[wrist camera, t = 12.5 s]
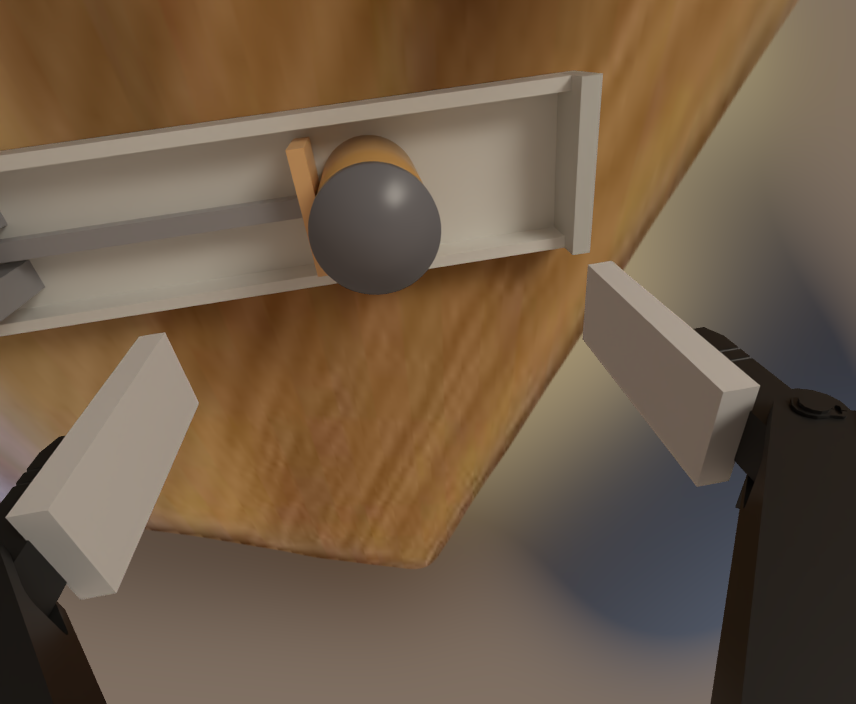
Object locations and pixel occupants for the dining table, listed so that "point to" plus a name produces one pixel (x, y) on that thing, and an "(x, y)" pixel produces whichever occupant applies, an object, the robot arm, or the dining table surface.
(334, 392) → the dining table surface
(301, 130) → the lane
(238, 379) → the dining table surface
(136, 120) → the dining table surface
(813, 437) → the robot arm
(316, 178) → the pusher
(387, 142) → the jar
